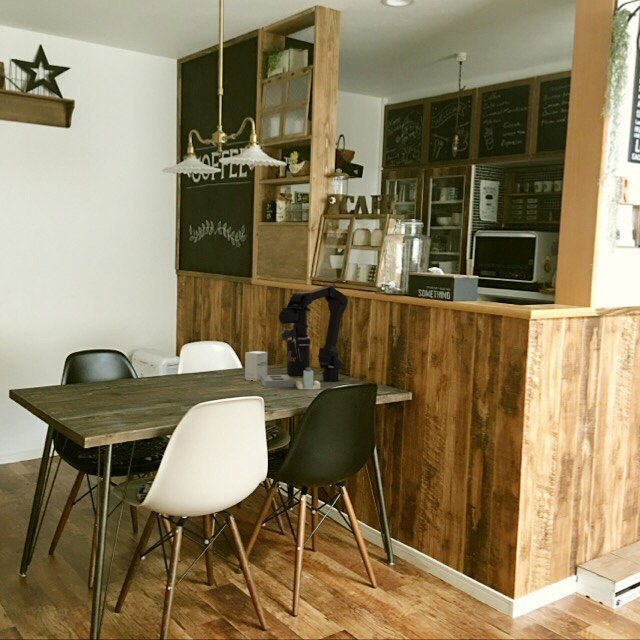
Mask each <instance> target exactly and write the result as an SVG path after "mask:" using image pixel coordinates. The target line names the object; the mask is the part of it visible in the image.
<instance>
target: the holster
mask: <svg viewBox="0 0 640 640" xmlns="http://www.w3.org/2000/svg"><path fill="white" fill-rule="evenodd" d="M295 384H296V386H295V387H296V388H297V389H298V390H320V389H321V382H320V381H318V380H313V388H304V383H303V382H302V381H300V380H296V381H295Z"/></svg>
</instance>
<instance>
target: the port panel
mask: <svg viewBox="0 0 640 640" xmlns="http://www.w3.org/2000/svg"><path fill="white" fill-rule="evenodd" d="M260 383H261V384H262V386H263V387H264V388H267V389H268V388H271V389H273V388H276V389H277V388H294V380H293V379H292V376H289V375H288V374H267V375H261V380H260Z"/></svg>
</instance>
